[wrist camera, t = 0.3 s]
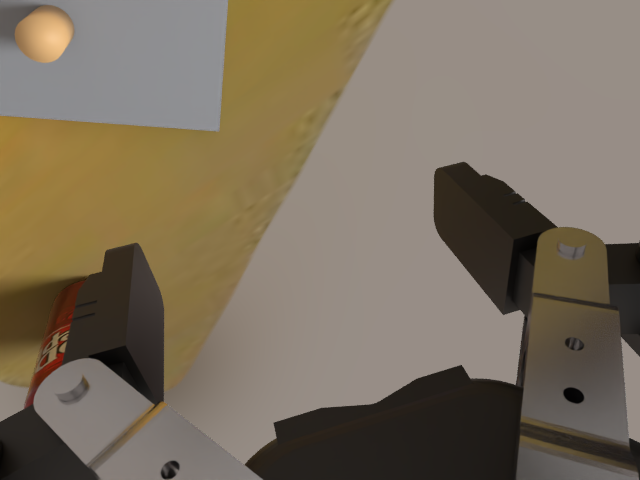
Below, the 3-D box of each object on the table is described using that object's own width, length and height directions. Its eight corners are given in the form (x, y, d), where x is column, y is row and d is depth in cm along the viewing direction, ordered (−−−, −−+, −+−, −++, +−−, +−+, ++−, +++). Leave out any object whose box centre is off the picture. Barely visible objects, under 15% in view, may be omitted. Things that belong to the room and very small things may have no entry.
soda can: (35, 314, 43) (-2, 432, 33) (86, 261, 41) (62, 368, 32) (108, 347, 47) (94, 460, 37) (157, 299, 45) (155, 404, 36)
